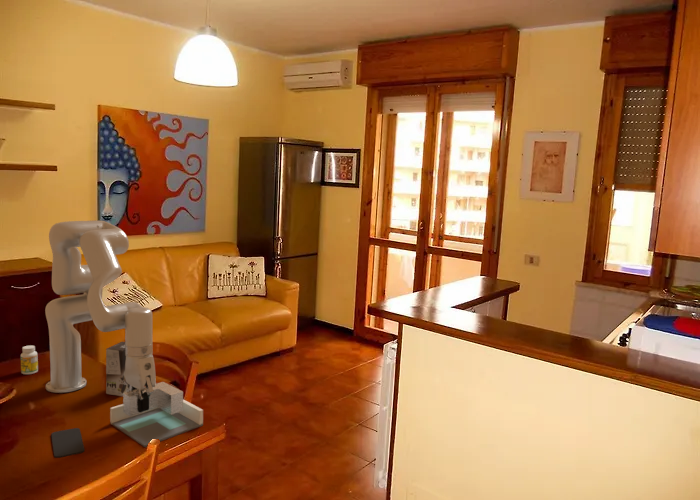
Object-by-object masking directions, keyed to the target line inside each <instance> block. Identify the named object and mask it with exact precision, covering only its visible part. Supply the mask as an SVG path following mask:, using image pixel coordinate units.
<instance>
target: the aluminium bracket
mask: <svg viewBox="0 0 700 500" xmlns="http://www.w3.org/2000/svg"><path fill="white" fill-rule="evenodd" d="M153 391H154V392H153V393H152V394H151V395H150V397H149V410H152V409H155V408H160V409H162V410H164V411H166V412H167V413H169V414H171V415H172V414H175V413H177V412H180V411H183V399H184V391H183V390H180V389H179V388H177V387H175V386H173V385H171V384H169V383H167V382H165V381H161V382H156V385H155V387H153ZM142 392H143V393H144V392H146V390H144V391H142ZM122 397H123V400H122V402H123V403H122V404H123V412H124V413H125V414H127V415H129V416H130V417H131V416H134V415H137V414H140V413H143V412H146V411H149V410H146V411H143V412H138V399H140V398H139V389H136V390H132V391H129V392H125V393H123V396H122Z"/></svg>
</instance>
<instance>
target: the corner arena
mask: <svg viewBox="0 0 700 500" xmlns="http://www.w3.org/2000/svg"><path fill="white" fill-rule="evenodd" d="M109 411H110V412H109V419H110V420H109V421H110V425H112V426H113V427H114V428H116V429H117V430H119V431H121V432H122V433H124V434H125V435H126V436H128V437H129V438H131V439H132V440H134V441H135V442H136V443H138V444H140V445H141V446H142V447H144V448H147V447H148V446H147V445H148V443H149V442H150V441H151V440H152V439H159V440H160V442H162V441H165V440H167V439H170V438H173V437H176V436H178V435H182V434H185V433H187V432H189V431H191V430H194V429H197V428H199V427H202V426H203V425H204V409H202V408H201V407H199V406H196V405H195V404H193V403H191V402H189V401H187V400H185V399H184V398H183V411H180V412H177V413H175V414H172V415H171V414H169V413H167V412H166V411H164V410H162V409H160V408H155V409H152V410H149V411H146V412H143V413H140V414H137V415H134V416H131V417H130V416H129V415H127V414H125V413H124V412H123V403H122V404H118V405H116V406H112V407H110V408H109Z"/></svg>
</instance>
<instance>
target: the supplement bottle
mask: <svg viewBox="0 0 700 500" xmlns="http://www.w3.org/2000/svg"><path fill="white" fill-rule="evenodd" d="M21 349H22V350H21V351H22V353H21V354H20V373H21V374H23V375H32V374H33V375H34V374H35V373H38V372H39V361H38V360H39V359H38V358H39V357H38V352H37V351H36V346H35V345H31V344H30V345H26V346H22V348H21Z"/></svg>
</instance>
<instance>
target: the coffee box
mask: <svg viewBox="0 0 700 500" xmlns="http://www.w3.org/2000/svg"><path fill="white" fill-rule="evenodd" d="M105 351H106V352H105V355H106V357H105V361H106V362H105V373H106V374H105V378H106V380H105V381H106V383H105V385H106V386H105V387H106V388H105V389H106V390H105V395H112V396H118V397H123V393H125V392H129V386H128V383H127V382H126V379H125V362H126V355H125V341H119V342H117V343H116V344H114V345H112V346H109V347H107V348H106V349H105Z"/></svg>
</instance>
